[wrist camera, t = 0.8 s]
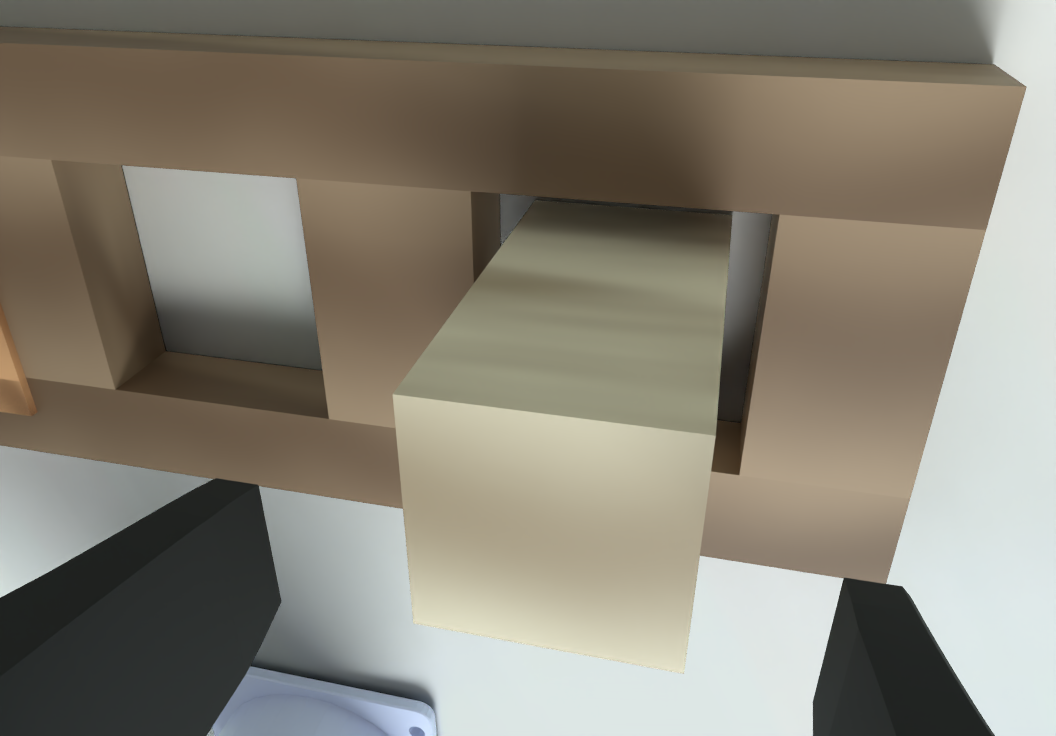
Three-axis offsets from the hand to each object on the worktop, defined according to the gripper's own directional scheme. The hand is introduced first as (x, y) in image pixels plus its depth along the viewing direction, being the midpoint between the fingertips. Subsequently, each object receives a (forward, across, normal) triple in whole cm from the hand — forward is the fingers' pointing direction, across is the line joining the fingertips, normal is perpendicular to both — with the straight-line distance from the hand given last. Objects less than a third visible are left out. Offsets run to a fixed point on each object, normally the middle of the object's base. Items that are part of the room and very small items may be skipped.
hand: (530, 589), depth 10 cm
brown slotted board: (+9, +9, 0) cm, 13 cm away
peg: (+9, 0, 0) cm, 9 cm away
